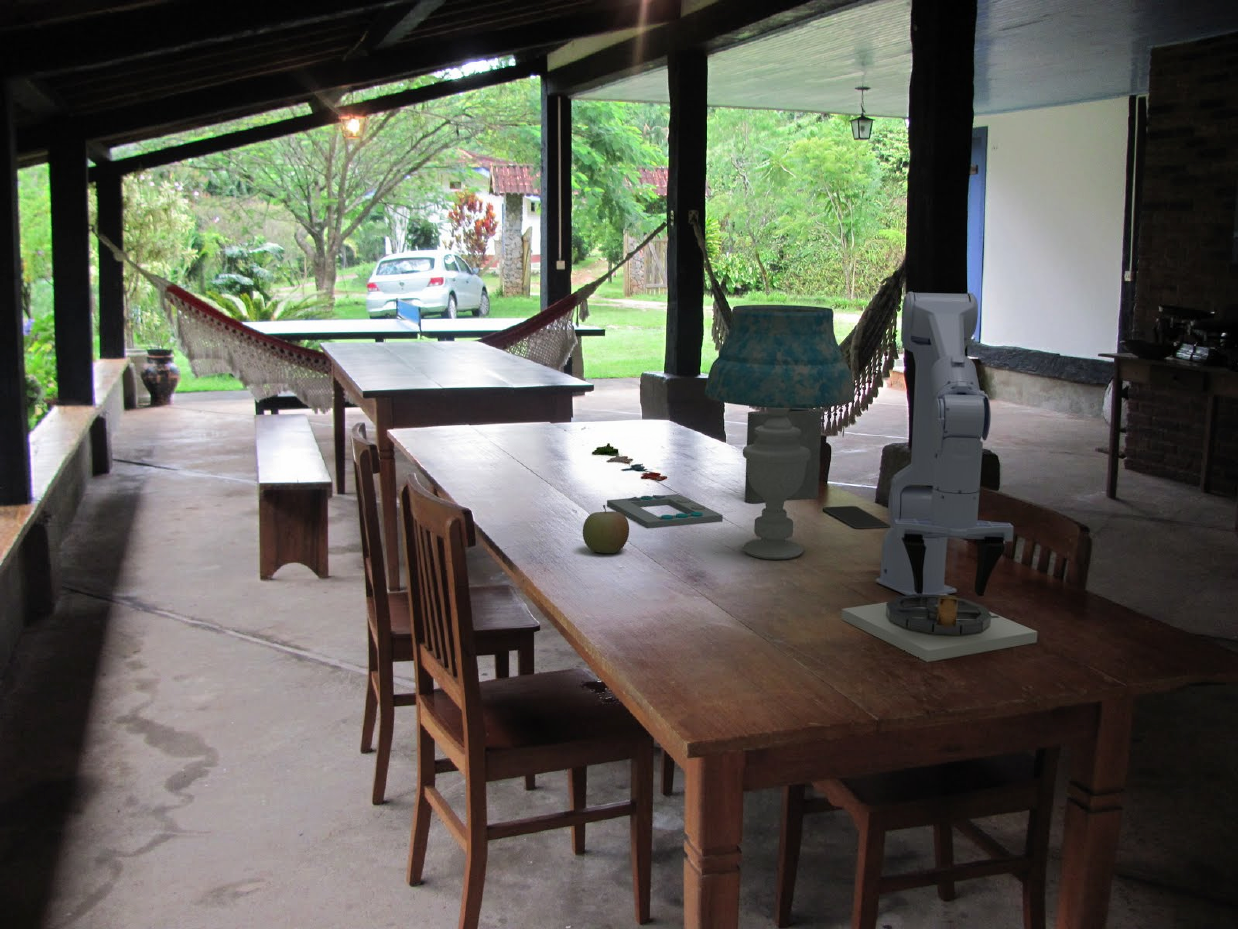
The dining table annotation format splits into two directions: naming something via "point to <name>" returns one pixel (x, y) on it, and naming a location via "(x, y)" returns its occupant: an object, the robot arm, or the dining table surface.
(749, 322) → the table lamp
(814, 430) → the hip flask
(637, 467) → the toy spaceship set
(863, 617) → the base plate
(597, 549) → the fruit
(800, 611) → the dining table surface
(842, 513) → the smartphone
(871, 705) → the dining table surface
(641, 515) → the picture frame
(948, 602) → the handwheel
